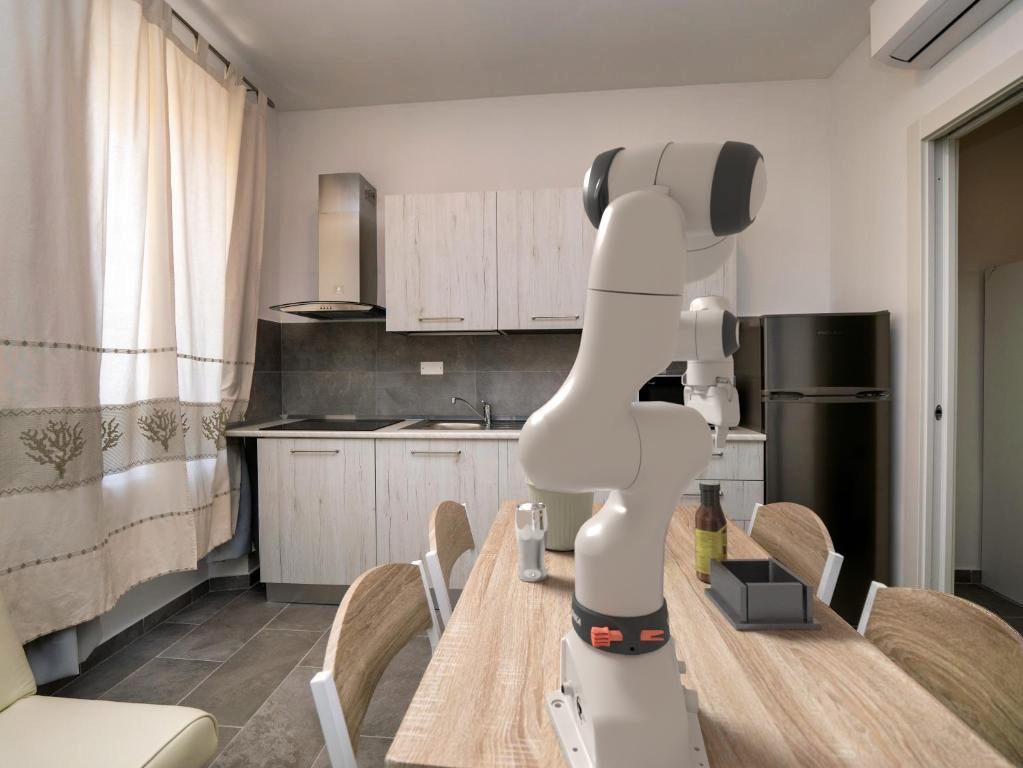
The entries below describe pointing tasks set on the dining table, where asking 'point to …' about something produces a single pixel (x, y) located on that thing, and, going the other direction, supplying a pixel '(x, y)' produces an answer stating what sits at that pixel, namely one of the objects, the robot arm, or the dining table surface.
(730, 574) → the square socket
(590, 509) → the canister
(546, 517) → the beer glass
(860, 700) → the dining table surface
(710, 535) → the sauce bottle
